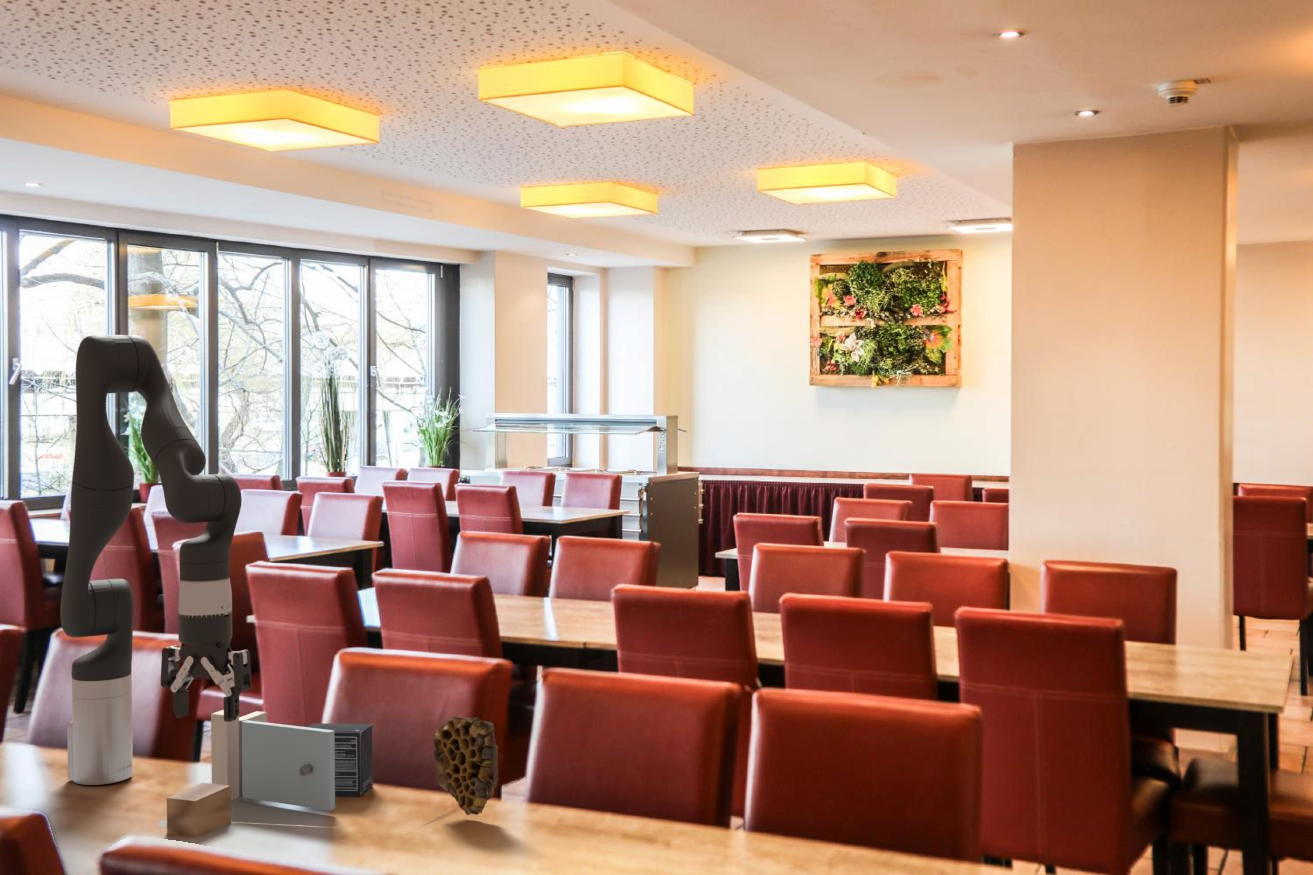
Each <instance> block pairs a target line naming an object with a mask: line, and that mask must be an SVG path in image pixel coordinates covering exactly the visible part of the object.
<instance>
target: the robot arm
mask: <svg viewBox="0 0 1313 875" xmlns="http://www.w3.org/2000/svg"><path fill="white" fill-rule="evenodd" d="M135 392H136V393H138V394H140V395H141V397H142V398H143V399H144V401H145V403H146V407H145V411H144V415H143V419H142V423H141V428H140V438H141V442H142V445H143V449H144V451H145V453H146V454H147V455H148V457H149V459H150V460H151V463H153V465H154V467H155V469H156V471H157V472H158V475H159V477H160V478H159V479H160V482H161V486H162V490H163V492H162V493H163V495H164V496H163V497H164V503H165V507H166V509H167V510H166V511H167V512H168V514H169V515H170V516H171V517H172V518H174V520H176V521H177V522H179V523H182V524H196V523H197V524H198V523H206V526H205V528H204V530H203V532H202V533H201V534H200V535H198V536H196V537H193V538H191V539H188V540H186V541H184V542H182V543H181V545H180V548H179V585H178V586H179V587H178V593H177V611H178V612H177V615H178V616H177V622H178V624H177V626H178V627H177V629H178V632H177V633H178V635H177V636H178V638H177V639H178V641H179V643H180V644H181V645H180V646H179V645H178V644H174V645H169V646H166V647H162V649H161V663H160V664H161V667H160V686H161V687H162V688H168V689H169V690H170V691H171V692H172V711H173V713H174V715H175V717H176V718H179V719H180V718H184V717H188V715H189V714H190V703H189V702H190V694H189V691H190V690H187V689H188V688H189V686H190V685H191V684H192V682H193V680H194V679H200V678H202V679H204V680H213V682H214V683H215V685H218V686H219V687H220V689H221V691H222V692H223V694H224V695H225V696H224V697H223V710H224V721H225V722H231V721H234V720H236V719H237V716H238V715H239V716H240V696H241V694H242V693H244V692H247V691H249V690H251V689H252V688H253V684H252V683H253V682H252V666H251V665H252V664H251V652H250V651H249V650H248V649H242V650H236V651H234V650H232V647H231V640H232V638H233V592H232V586H231V578H230V577H231V576H230V575H231V573H230V572H231V570H230V569H231V568H230V563H231V562H230V560H231V559H230V556H231V555H230V554H231V552H230V551H231V547H232V544H233V543H232V542H233V539H234V536H235V535H234V534H235V531H236V527H237V523H238V520H239V517H240V513H241V509H242V508H241V507H242V502H243V501H242V500H243V498H242V492H241V488H240V486H239V484H238V482H237V480H236V479H235V478H233V477H232V475H229V474H225V473H213V474H201V473H202V472H203V471H204V470H205V467H206V464H207V463H206V462H207V458H206V454H205V452H204V451H203V448H202V446H200V444H199V443H198V441H197V439H196V437H195V436H194V435H193V433H192V431H191V430H190V428H189V427H188V425H187V423H186V421H185V420H184V418H183V417H182V415H181V413H180V410H179V408H178V405H177V403H176V400H175V398H174V395H173V393H172V390H171V387H170V383H169V381H168V379H167V377H166V374H165V371H164V368H163V367H162V364H161V361H160V359H159V357H158V354H157V352H156V351H155V349H154V347H153V346H152V344H151V343H150V341H148V339H146V338H145V337H143V336H141V335H136V334H98V335H97V334H96V335H88V336H86V337H84V338H83V339H82V340H81V342H79V346H78V348H77V353H76V361H75V398H76V400H75V401H76V402H75V403H76V404H75V405H76V407H75V408H76V409H75V410H76V412H75V413H76V424H75V425H76V427H75V428H76V431H75V432H76V435H75V446H74V447H75V448H74V459H73V470H72V478H71V492H70V517H69V519H70V520H69V521H70V522H69V537H68V549H67V555H66V556H67V557H66V564H65V571H64V578H63V584H62V590H61V599H60V610H59V611H60V612H59V613H60V617H59V618H60V625H61V627H62V630H63V632H64V634H65V635H66V636H67V637H70V638H88V637H96V636H97V637H98V636H106V639H105V640H104V641H103V643H101V644H100V645H99V646H98V647H96V648H95V649H93V650H92V651H89V652H88V653H86V654H84V655H82V656H79V657H77V658H76V659H74V660H73V662H72V663H71V720H72V721H69V722H68V723H67V727H66V730H67V731H66V732H67V733H66V734H67V780H69V781H73V783H75V784H78V785H84V786H99V785H107V784H113V783H117V782H122V781H124V780H127V779H129V778H131V777H132V776H133V773H134V772H133V770H134V769H133V766H134V765H133V691H132V690H133V688H132V687H133V686H132V685H133V680H132V679H133V678H132V677H133V676H132V675H133V673H132V669H133V668H132V662H133V633H134V612H135V611H134V609H135V602H134V601H135V600H134V593H133V588H132V586H131V584H130V583H129V581H128V580H127V579H124V578H107V579H98V580H97V579H95V580H93V579H92V580H90V579H91V576H92V573H93V570H94V566H95V564H96V562H97V561H98V559H99V556H100V555H101V553H102V552H103V551H104V549H105V548H106V547H107V545H108V544H109V543H110V542H111V540H112V539H113V537H115V535H116V534H117V533H118V532H119V530H120V529H121V528H122V526H123V525H124V523H125V522H126V520H127V519H128V517H129V515H130V513H131V511H132V507H133V497H134V496H133V495H134V486H135V483H134V482H135V470H134V467H133V464H132V461H131V460H130V458H129V456H128V455H127V453H126V451H125V450H124V448H123V447H122V445H121V443H120V441H119V440H118V439H117V437H116V435H115V433H114V431H113V430H112V428H111V425H110V423H109V420H108V414H107V396H108V394H123V393H124V394H126V393H135ZM180 660H181V662H182V666H181V668H179V667H180V666H179V665H180ZM230 664H231V665H232V666H233V668H232V667H231V665H230ZM223 674H224V675H223Z"/></svg>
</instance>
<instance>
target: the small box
mask: <svg viewBox="0 0 1313 875" xmlns="http://www.w3.org/2000/svg"><path fill="white" fill-rule="evenodd" d="M306 727H309V728H317V729H326V730H334V740H335V797H338V796H340V797H341V796H344V797H361V796H363V795H364V794H365V793H366V792H367V791H369V789H371V788H372V787H373V786H374V783H373V781H374V780H373V778H374V776H373V774H374V772H373V769H374V768H373V724H372V723H318V722H317V723H311V724H309V725H308V726H306Z"/></svg>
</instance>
